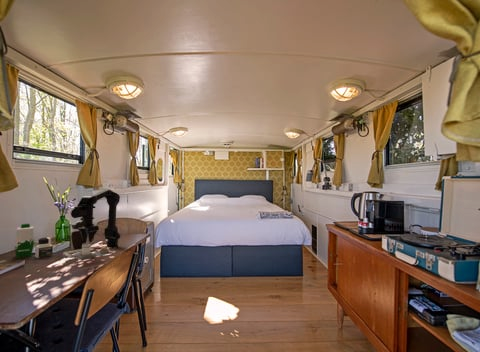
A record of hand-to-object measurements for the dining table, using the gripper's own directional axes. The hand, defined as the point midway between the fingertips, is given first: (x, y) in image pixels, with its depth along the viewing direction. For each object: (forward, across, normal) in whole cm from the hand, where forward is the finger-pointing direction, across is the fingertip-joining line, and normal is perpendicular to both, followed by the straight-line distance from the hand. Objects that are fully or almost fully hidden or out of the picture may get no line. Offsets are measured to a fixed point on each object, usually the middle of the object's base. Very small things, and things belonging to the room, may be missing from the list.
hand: (86, 240), depth 149 cm
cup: (+11, -26, +8) cm, 29 cm away
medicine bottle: (+11, -23, -15) cm, 30 cm away
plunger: (+10, 0, +11) cm, 14 cm away
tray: (+11, -10, -2) cm, 15 cm away
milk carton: (+11, -35, -22) cm, 43 cm away
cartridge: (+10, 0, 0) cm, 10 cm away
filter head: (+11, 0, +5) cm, 12 cm away
